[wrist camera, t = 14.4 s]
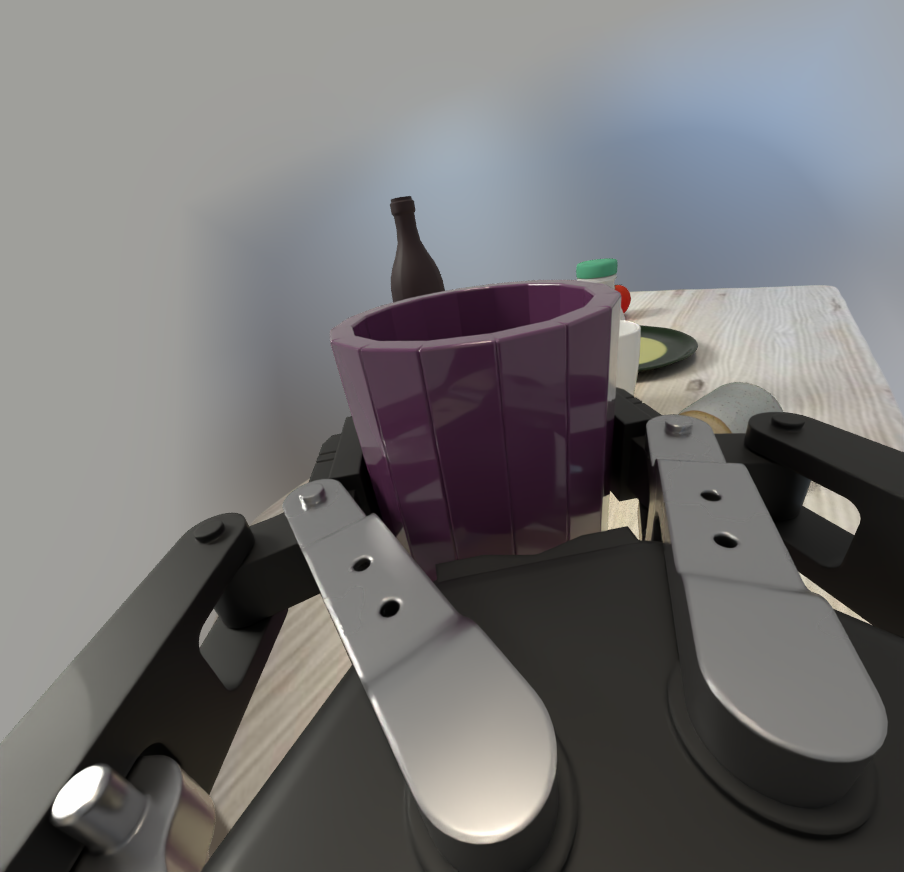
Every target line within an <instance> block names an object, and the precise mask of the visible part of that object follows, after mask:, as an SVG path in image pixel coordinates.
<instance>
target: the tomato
mask: <svg viewBox="0 0 904 872" xmlns="http://www.w3.org/2000/svg"><path fill="white" fill-rule="evenodd" d="M614 287H615V290H616V291H618V292H620V294H621V309H622V311H623V313H625V312H626V311H627V309H628V307H629V304H630V301H631V297H630V293H629V291H628V290H627V288H625V287H624V286H621V285H614Z"/></svg>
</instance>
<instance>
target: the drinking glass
mask: <svg viewBox="0 0 904 872" xmlns="http://www.w3.org/2000/svg"><path fill="white" fill-rule="evenodd" d="M640 343H641V327H640V325H639V324H637V323H635V322H631V321H624V320H620V327H619V344H618V361H617V379H616V387H618V388H621V389H624V390H626V391H627V392H629V393H630V394H632V395H633V396H634V391H635V386H636V380H637V374H638V367H639V358H640Z"/></svg>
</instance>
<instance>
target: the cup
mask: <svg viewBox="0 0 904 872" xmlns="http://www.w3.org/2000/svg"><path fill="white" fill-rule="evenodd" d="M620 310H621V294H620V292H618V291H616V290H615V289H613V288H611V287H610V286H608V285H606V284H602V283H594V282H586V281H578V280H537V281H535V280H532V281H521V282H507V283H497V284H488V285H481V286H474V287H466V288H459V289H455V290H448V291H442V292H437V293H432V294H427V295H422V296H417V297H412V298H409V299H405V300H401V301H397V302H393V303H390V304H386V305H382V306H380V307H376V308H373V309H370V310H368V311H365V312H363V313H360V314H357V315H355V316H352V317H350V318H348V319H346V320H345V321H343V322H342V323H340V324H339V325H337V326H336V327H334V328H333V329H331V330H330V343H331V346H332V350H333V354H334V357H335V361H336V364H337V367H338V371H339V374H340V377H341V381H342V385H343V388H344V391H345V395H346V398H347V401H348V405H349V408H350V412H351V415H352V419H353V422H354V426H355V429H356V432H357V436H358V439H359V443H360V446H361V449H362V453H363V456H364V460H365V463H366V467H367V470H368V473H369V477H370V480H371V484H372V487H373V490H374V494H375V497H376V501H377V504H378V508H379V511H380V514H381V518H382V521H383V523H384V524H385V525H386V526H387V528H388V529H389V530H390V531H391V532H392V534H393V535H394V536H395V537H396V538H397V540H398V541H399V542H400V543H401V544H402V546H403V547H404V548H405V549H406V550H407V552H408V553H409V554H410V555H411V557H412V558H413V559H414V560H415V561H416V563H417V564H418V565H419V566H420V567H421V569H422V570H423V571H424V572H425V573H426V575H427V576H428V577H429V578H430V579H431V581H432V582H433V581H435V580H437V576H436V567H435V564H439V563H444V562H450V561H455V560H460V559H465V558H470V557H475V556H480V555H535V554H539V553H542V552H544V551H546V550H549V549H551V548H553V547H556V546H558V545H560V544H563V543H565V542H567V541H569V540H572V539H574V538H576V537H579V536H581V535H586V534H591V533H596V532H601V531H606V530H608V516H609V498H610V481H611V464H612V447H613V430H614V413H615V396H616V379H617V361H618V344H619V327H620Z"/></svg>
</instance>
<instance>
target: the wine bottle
mask: <svg viewBox="0 0 904 872" xmlns="http://www.w3.org/2000/svg"><path fill="white" fill-rule="evenodd" d="M390 207H391V212H392V215H393V216H394V219H395V224H396V229H397V240H398V245H397V251H396V257H395V261H394V264H393V268H392V275H391V291H392V298H393V302H397V301H401V300H405V299H409V298H412V297H417V296H422V295H427V294H432V293H437V292H442V291H445V289H444V284H443V280H442V277H441V274H440V272H439V269H438V267H437V266H436V264H435V262H434V260H433V259H432V258H431V256H430V255H429V253H428V252H427V250H426V249H425V247H424V245H423V244H422V242H421V241H420V237H419V234H418V230H417V227H416V221H415V215H414V212H415V205H414V201H413V200H412V198H411V196H406V197H400V198H395V199H392V200H391V204H390Z"/></svg>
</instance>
